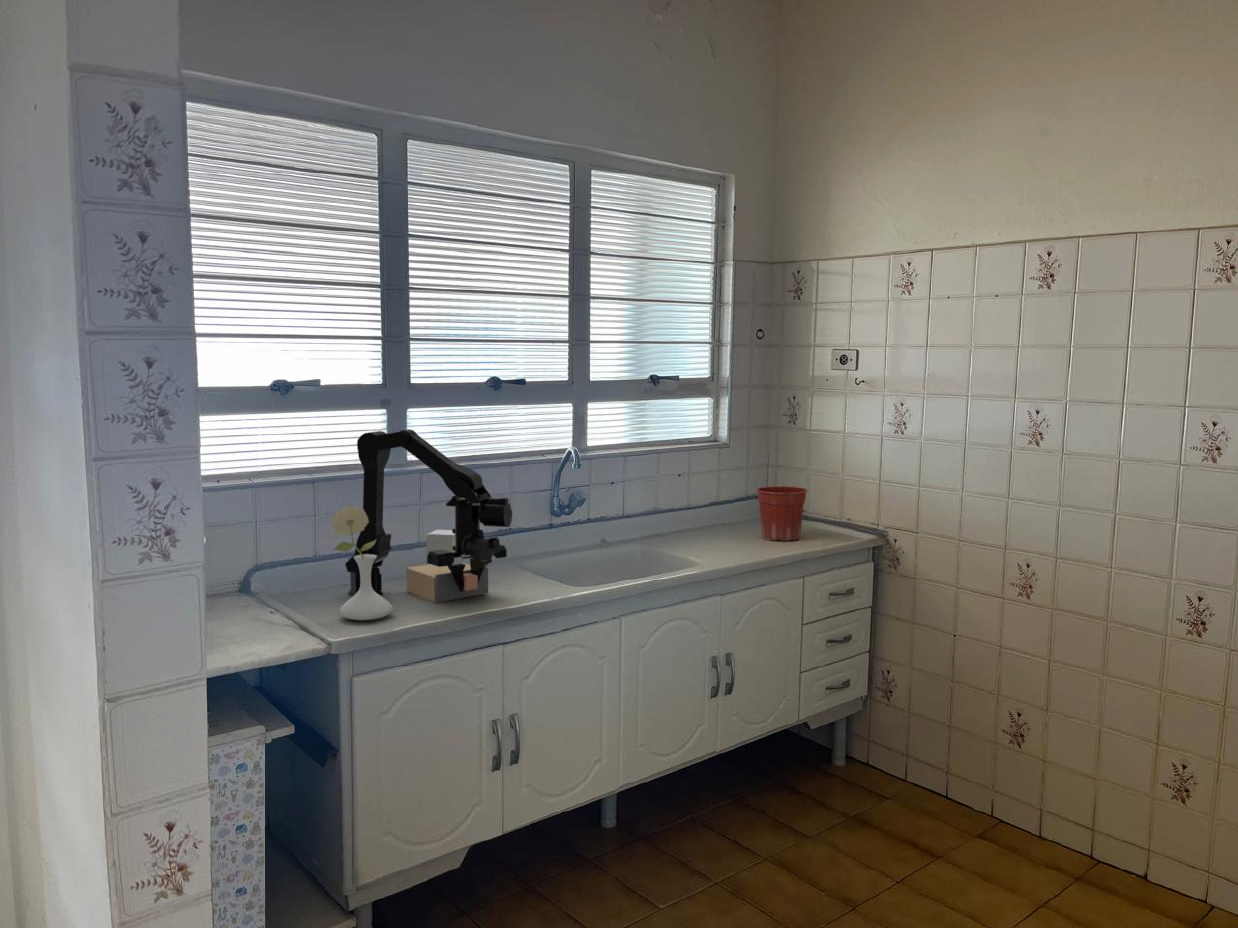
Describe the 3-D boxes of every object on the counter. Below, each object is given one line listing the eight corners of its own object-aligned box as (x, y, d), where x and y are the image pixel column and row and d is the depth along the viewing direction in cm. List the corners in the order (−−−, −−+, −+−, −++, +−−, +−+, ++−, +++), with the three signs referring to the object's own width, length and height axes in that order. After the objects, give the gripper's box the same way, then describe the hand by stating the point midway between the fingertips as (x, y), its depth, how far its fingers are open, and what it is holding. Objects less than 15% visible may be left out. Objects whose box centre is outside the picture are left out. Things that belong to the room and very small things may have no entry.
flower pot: (751, 541, 308) (752, 491, 306) (759, 532, 323) (760, 485, 322) (803, 544, 303) (804, 493, 301) (808, 535, 318) (810, 487, 317)
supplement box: (452, 583, 247) (452, 534, 246) (425, 582, 248) (424, 533, 247) (463, 577, 254) (462, 530, 253) (436, 575, 256) (436, 528, 254)
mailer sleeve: (434, 602, 227) (434, 577, 226) (406, 591, 238) (406, 567, 237) (485, 593, 236) (485, 569, 235) (456, 583, 247) (456, 560, 246)
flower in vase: (397, 610, 219) (395, 502, 217) (387, 624, 208) (384, 510, 205) (339, 611, 219) (336, 502, 216) (326, 624, 208) (323, 510, 205)
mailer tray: (445, 605, 223) (445, 578, 222) (407, 590, 237) (407, 564, 237) (497, 596, 232) (496, 570, 231) (457, 582, 246) (456, 557, 246)
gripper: (449, 534, 215) (450, 602, 217) (519, 525, 227) (519, 590, 228) (425, 527, 223) (426, 593, 225) (494, 519, 235) (494, 582, 237)
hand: (468, 590), depth 229 cm, fingers closed on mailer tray, 3 cm apart
